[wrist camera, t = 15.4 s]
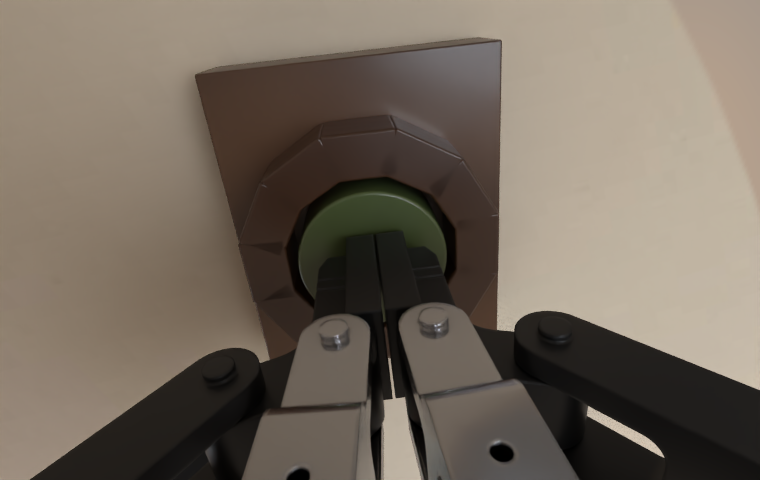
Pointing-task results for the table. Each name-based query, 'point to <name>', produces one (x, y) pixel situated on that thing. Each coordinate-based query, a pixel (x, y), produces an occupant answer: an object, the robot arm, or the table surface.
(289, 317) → the button block
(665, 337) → the table surface
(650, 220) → the table surface
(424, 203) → the button
